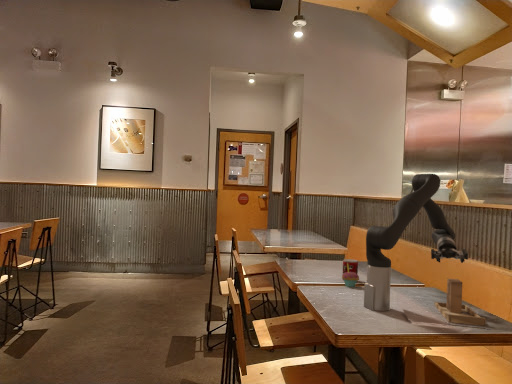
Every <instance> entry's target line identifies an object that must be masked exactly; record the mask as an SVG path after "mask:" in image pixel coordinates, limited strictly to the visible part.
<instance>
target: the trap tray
mask: <svg viewBox="0 0 512 384" xmlns="http://www.w3.org/2000/svg"><path fill="white" fill-rule="evenodd" d="M446 303H447V302H440V301H438V302H436V301H435V302H434V307H435V308H436V310H438V311H439V313H440V314H441V315H442V316H443V317H444V318H445V319H446V321H447V322H449V323H457V324H466V325H457V324H449V323H448V324H447V325H448V326H455V327H461V328H462V327H464V328H473V329H474V328H475V329H479V330H481V329H482V330H486V329H487V328H486V325H487V318H486V317H481V316H480V315H479V314H478V313H477V312H475V310H473V309H472V308H471V307H469V305H467V304H462V311H461V313H454V312H450V311H449V310H448V309H447V308H446ZM462 312H463V313H462ZM467 313H469V314H467ZM469 325H475V326H469ZM476 326H477V327H476ZM478 326H483V327H478ZM484 326H485V327H484Z"/></svg>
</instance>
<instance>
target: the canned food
mask: <svg viewBox="0 0 512 384" xmlns="http://www.w3.org/2000/svg"><path fill="white" fill-rule="evenodd" d="M347 263H348V266H349V272H355V273H356V274H357V275H358V273H359V260H357V259H349V258H347V259H343V260H342V274H343V273H346V272H348V269H347ZM358 276H359V275H358ZM342 281H344V279H342Z"/></svg>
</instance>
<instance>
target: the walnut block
mask: <svg viewBox="0 0 512 384" xmlns="http://www.w3.org/2000/svg"><path fill="white" fill-rule="evenodd" d="M445 303H446V308H447V309H448V310H449V311H450V312H454V313H462V305H463V282H462V281H461V280H460V279H459V278H449V277H448V278H447V280H446V302H445Z"/></svg>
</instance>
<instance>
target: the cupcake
mask: <svg viewBox="0 0 512 384" xmlns="http://www.w3.org/2000/svg"><path fill="white" fill-rule="evenodd" d="M347 269H348V272H346V273H343V272H342V274H341V279H342V280H343V279H344V280H343V282H344V285H345V287H347V288H355V287H356V284H357V282H358V281H359V280H360V276H359V275H357V274H356V273H355V272H349V266H348V263H347Z"/></svg>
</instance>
